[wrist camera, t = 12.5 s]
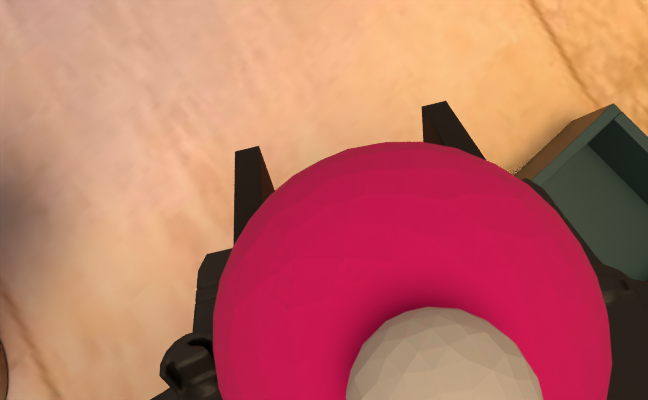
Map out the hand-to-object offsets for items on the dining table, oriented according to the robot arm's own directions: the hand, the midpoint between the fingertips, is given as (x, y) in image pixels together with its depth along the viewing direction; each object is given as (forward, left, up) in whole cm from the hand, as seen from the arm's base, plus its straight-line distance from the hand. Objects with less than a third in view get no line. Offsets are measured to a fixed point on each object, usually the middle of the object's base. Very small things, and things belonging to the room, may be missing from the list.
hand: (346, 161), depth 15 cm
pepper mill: (+3, -2, -9) cm, 10 cm away
